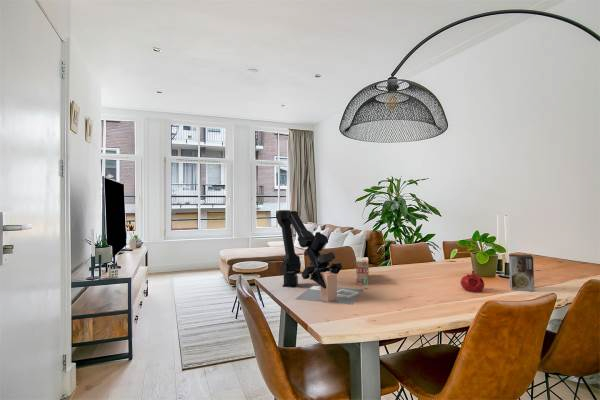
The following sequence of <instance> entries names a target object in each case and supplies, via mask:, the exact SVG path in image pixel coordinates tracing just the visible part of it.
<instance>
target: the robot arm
mask: <svg viewBox="0 0 600 400" xmlns="http://www.w3.org/2000/svg"><path fill="white" fill-rule="evenodd" d="M275 218H276V223H277V224H278V225H279V226H280V228H281V233H282V234H281V235H282V239H283V245H284V246H283V247H284V252H285V253H284V254H285V256H284V258H283V261H282V263H283V264H282V267H281V268H280V274H281V275H283V284H282V287H287V288H290V287H291V288H295V287H297V286H298V285H299V276H298V274H300V273H301V272H300V271H301V267H302V265H301V264H302V262H301V258H300V255H297V254H296V252H295V245H294V240H293V239H294V238H293V232H292V227H293V229H294V230H295V233H296V234H297V241H298V244H299V246H300V247H301V248H302V249H303V248H306V249H305V252H304V256H307V257H308V260H309V261H310V263H309V265H310V266H305V268H304V269H303V270H302V273H301V277H302V279H303V280H307V279H308V280H310V281H313V282H315V283H317V284H318V286H322V287H323V288H324V289H325V288H326V285H325V283H324V281H323V279H322V277H321V273H326V271H331V272H332V273H335V274H337V275H338V274H339V272H341V270H342V269H343V264H342V263H341V262H333V261H334V260H335V259H336V256H335V254H334V252H333V251H329V252H327V253H324V254H322V253H321V251H323V250H324V248H325V246H326V245H327V243H328V241H329V239H328V237H327V236H326V235H324V234H323V233H321V231H316V232H315V234H313V232H311V230H308V229H307V227H306V226H305V224H304V223H303V221H302V219H301V218H300V215H299V213H298V211H297V210H290V209H281V210H278V211H277V212H276V213H275ZM331 262H332V264H331V265H330V263H331ZM329 265H330V266H329Z"/></svg>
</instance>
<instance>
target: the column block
mask: <svg viewBox="0 0 600 400" xmlns="http://www.w3.org/2000/svg"><path fill="white" fill-rule="evenodd" d="M321 277H322V279H323V281H324V283H325V285H326V288H325V289H324V288H323V287H322V286H321V285H320V286H321V299H322V300H324V301H327V302H326V303H330V302H329V301H334V300H337V287H338V274H335V273H332V272H331V271H326V272H323V273H321Z"/></svg>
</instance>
